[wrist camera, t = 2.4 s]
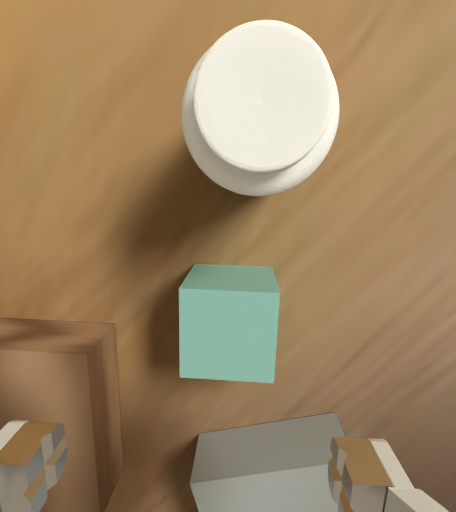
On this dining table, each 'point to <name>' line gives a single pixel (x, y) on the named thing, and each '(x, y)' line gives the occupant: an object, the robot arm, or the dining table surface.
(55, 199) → the dining table surface
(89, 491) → the walnut block
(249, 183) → the supplement bottle
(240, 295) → the teal cube
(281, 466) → the slate block
